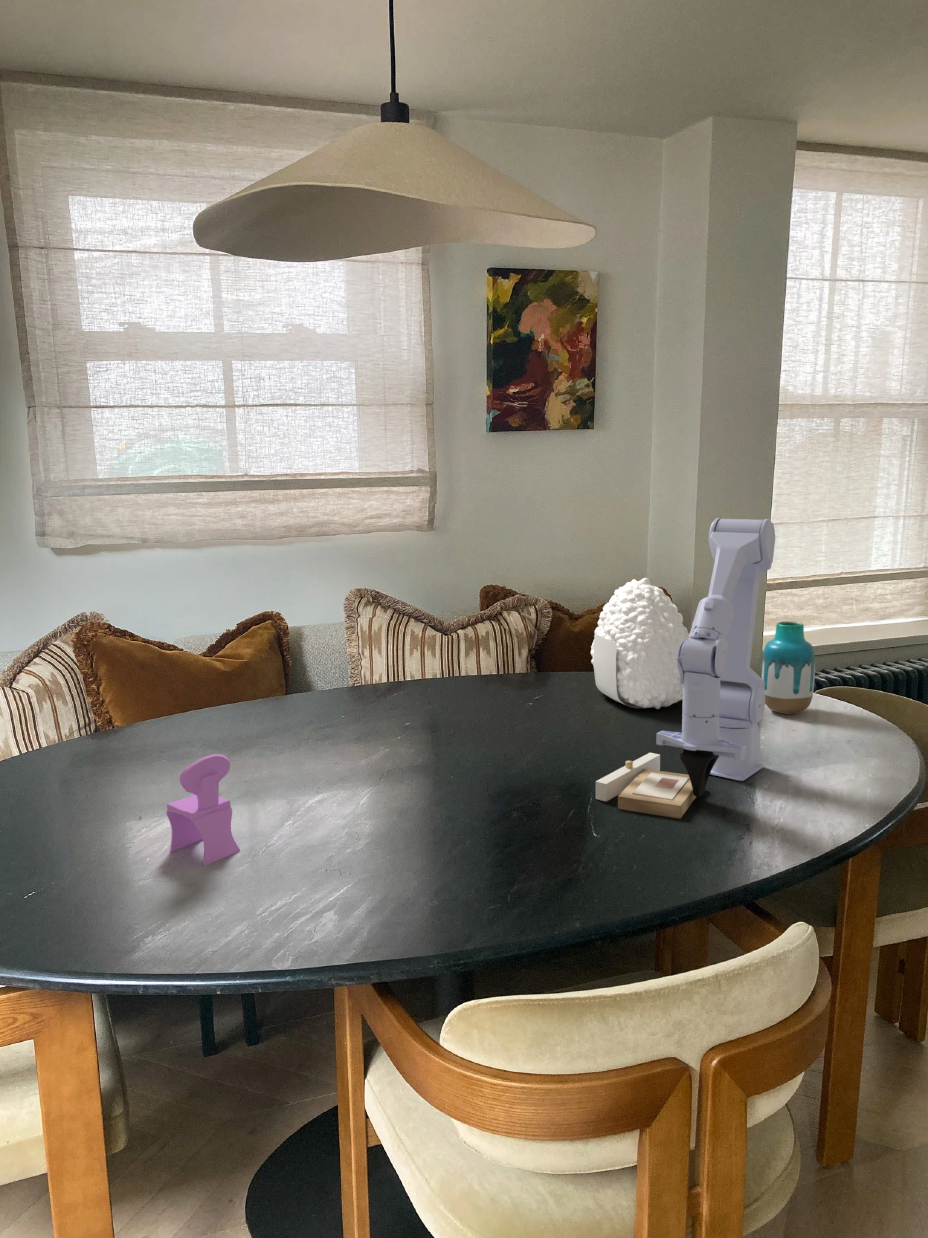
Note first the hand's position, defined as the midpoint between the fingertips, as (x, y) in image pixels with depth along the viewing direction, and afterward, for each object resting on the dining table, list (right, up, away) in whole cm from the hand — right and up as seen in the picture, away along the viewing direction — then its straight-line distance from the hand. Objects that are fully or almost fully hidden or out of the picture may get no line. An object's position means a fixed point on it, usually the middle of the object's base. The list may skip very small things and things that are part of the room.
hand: (698, 794), depth 152 cm
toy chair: (-76, -6, -14) cm, 77 cm away
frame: (-6, -1, +2) cm, 6 cm away
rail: (-10, 0, +8) cm, 13 cm away
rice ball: (+2, +10, +60) cm, 61 cm away
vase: (+31, +8, +48) cm, 58 cm away
